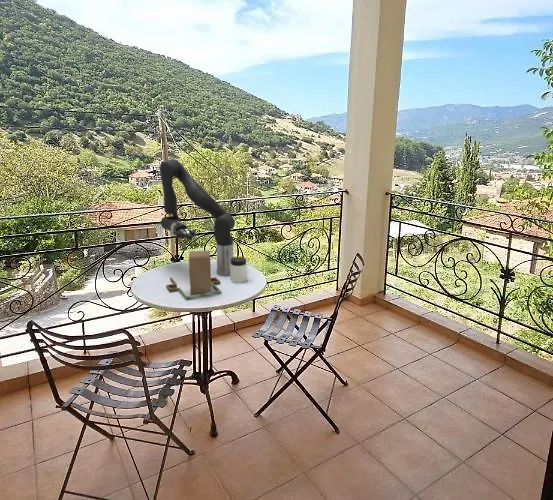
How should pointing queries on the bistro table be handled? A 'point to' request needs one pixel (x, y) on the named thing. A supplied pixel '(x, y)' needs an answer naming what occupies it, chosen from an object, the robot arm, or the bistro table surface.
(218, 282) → the notched outline frame
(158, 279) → the bistro table surface
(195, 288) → the block
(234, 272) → the jar
